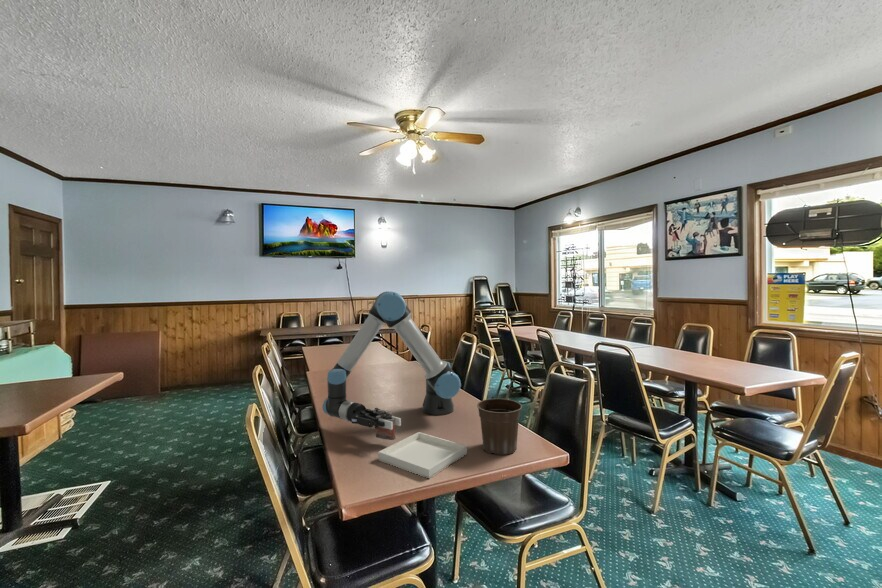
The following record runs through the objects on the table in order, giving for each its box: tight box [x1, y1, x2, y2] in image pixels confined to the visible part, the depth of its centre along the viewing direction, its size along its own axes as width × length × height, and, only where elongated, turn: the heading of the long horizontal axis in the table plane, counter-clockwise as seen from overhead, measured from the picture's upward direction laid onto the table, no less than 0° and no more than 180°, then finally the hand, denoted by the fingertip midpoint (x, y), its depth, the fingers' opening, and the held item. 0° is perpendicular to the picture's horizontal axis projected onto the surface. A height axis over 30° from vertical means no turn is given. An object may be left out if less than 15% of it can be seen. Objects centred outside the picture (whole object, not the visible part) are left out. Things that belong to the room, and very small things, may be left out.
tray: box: [377, 431, 468, 479], centre depth 134 cm, size 22×22×3 cm
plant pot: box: [476, 398, 523, 456], centre depth 141 cm, size 16×16×16 cm
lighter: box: [375, 409, 397, 441], centre depth 145 cm, size 8×3×10 cm, turn 65°
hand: (396, 423), depth 141 cm, fingers closed on lighter, 4 cm apart
